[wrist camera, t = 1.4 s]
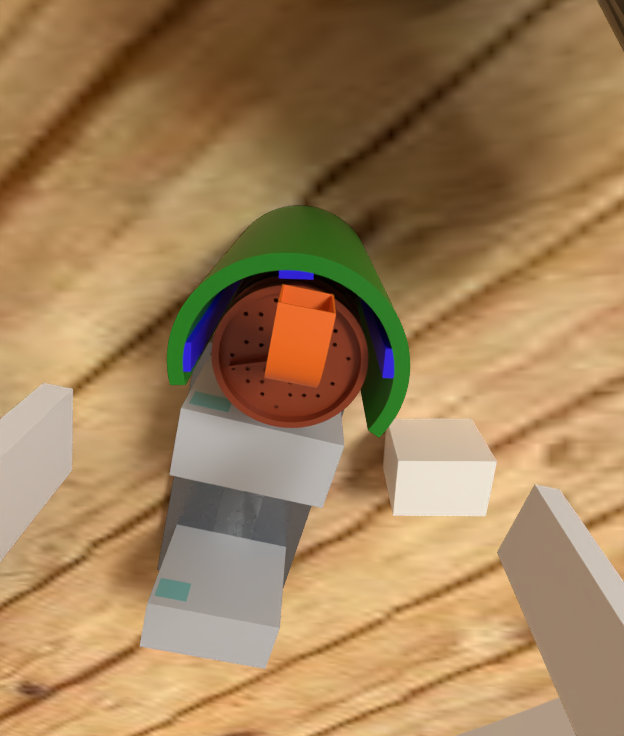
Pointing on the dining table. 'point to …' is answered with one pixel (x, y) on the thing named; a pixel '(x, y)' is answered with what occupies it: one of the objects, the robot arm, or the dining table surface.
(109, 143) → the dining table surface
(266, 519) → the rail plate
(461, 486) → the loose relay
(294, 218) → the motor
